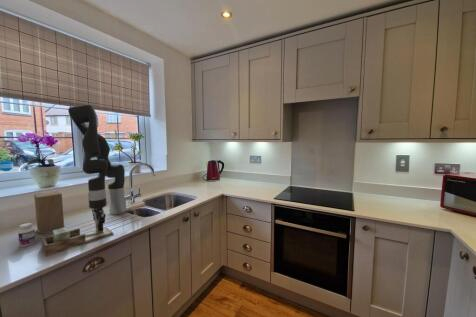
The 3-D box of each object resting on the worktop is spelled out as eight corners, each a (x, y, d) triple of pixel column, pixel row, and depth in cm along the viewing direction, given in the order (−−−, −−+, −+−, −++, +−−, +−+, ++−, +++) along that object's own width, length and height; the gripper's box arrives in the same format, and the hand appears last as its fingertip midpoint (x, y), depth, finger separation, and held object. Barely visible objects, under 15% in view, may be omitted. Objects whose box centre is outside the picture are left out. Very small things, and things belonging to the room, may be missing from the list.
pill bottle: (19, 243, 97) (17, 224, 96) (35, 240, 101) (34, 221, 100) (19, 248, 93) (17, 227, 92) (35, 244, 97) (33, 224, 96)
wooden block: (60, 223, 120) (58, 190, 119) (64, 228, 114) (61, 193, 112) (37, 229, 113) (34, 194, 111) (39, 234, 106) (36, 197, 104)
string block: (101, 228, 110) (100, 216, 109) (105, 232, 105) (104, 219, 105) (53, 242, 95) (52, 228, 94) (56, 247, 91) (55, 232, 90)
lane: (106, 228, 114) (105, 221, 113) (113, 234, 106) (112, 226, 106) (42, 247, 94) (41, 238, 93) (45, 256, 87) (45, 246, 86)
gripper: (110, 198, 103) (112, 231, 105) (101, 194, 112) (103, 224, 114) (93, 202, 97) (95, 236, 99) (85, 196, 106) (87, 228, 108)
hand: (99, 229), depth 106 cm, fingers closed on string block, 3 cm apart
